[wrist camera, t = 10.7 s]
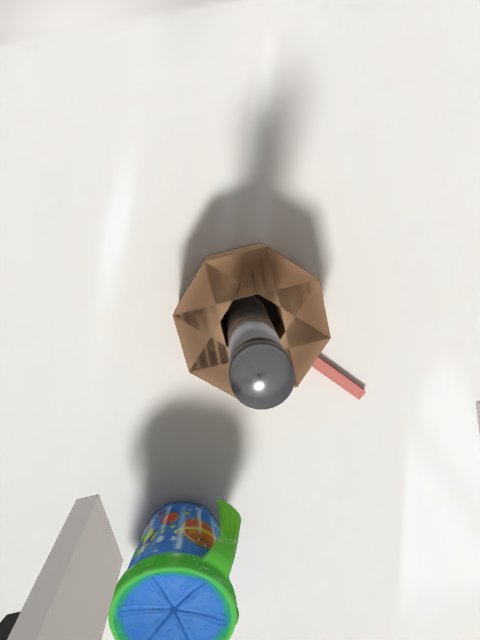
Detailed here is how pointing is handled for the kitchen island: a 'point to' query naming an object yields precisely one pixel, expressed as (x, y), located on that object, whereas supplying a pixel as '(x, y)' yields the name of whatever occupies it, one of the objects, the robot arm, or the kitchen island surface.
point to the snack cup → (180, 578)
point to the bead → (243, 281)
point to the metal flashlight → (256, 356)
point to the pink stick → (338, 378)
